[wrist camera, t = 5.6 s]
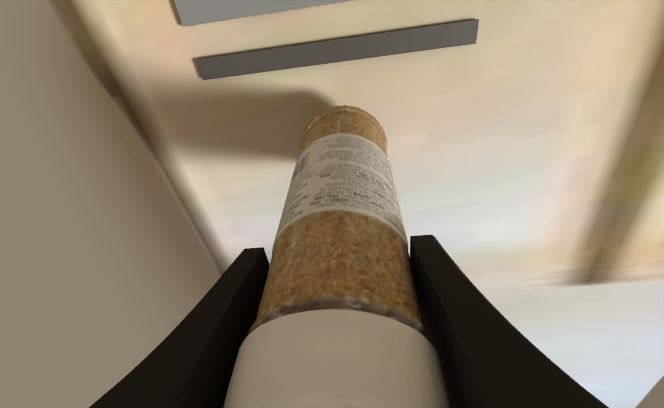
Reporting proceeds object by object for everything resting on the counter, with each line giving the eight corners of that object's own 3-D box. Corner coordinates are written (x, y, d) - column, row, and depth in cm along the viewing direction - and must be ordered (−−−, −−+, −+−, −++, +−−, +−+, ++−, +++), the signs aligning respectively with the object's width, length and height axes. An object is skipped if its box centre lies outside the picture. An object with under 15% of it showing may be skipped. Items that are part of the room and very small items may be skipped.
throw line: (473, 42, 15) (475, 43, 15) (205, 79, 16) (202, 80, 16) (476, 19, 15) (478, 19, 14) (197, 58, 16) (195, 59, 16)
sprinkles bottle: (350, 193, 18) (352, 506, 8) (285, 150, 17) (172, 466, 6) (405, 137, 16) (521, 473, 5) (336, 81, 14) (299, 396, 4)
